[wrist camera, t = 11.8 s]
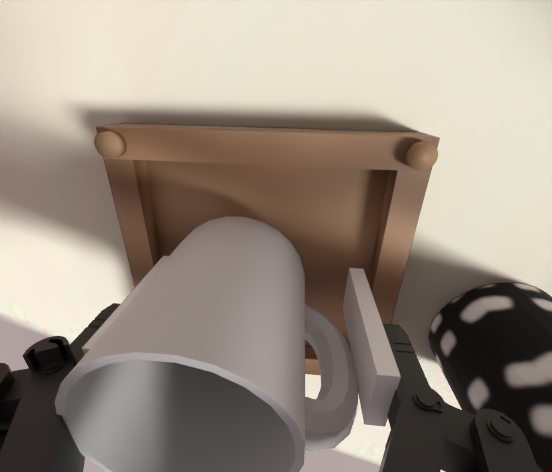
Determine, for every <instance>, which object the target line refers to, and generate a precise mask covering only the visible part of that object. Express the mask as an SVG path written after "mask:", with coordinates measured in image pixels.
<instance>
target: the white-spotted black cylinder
mask: <svg viewBox="0 0 552 472" xmlns="http://www.w3.org/2000/svg"><path fill="white" fill-rule="evenodd" d="M429 344H430V347H431V349H432V352H433V354H434V356H435V358H436V360H437V362H438V364H439V365H440V367H441V369H442V371H443V373H444V375H445V377H446V379H447V381H448V383H449V385H450V387H451V389H452V391H453V393H454V395H455V397H456V399H457V401H458V403H459V405H460V407H461V409H462V410H463V411H465V412H468V413H471V414H473V415H476V413H477V412H478V411H479V410H482V409H492V410H495V411H498V412H500V413H502V414H504V415H505V416H507V417H508V418H510V419H511V420H513V421H514V423H515V424H516V425H517V426H518V427H519V428H520V429H521V430H522V432H523V434H524V435H525V437H526V439H527V442H528V444H529V447H530V449H531V451H532V454H533V456H534V459H535V461H536V464H537V466H538V469H539V471H540V472H552V297H551V296H550V295H548V294H547V293H546V292H544V291H542V290H540V289H538V288H536V287H533V286H529V285H526V284H518V283H498V284H492V285H487V286H483V287H480V288H477V289H474V290H471V291H469V292H467V293H465V294H463V295H461V296H459V297H457V298H456V299H454V300H453V301H451V302H450V303H448V304H447V305H446V306H445V307H444V308H443V309H442V310H441V311H440V312H439V313H438V315H437V316H436V318H435V319H434V320H433V323H432V325H431V327H430V331H429Z"/></svg>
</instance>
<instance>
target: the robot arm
mask: <svg viewBox="0 0 552 472" xmlns="http://www.w3.org/2000/svg"><path fill="white" fill-rule="evenodd" d="M168 257H169V256H163V257H162V258H161V259H160V260H159V261H158V262H157V264H156V265H155V266H154V267H153V268H152V269H151V270H150V272H149V273H148V274H147V275H146V276H145V277H144V278H143V279H142V281H141V282H140V283H139V284H138V285H137V286H136V287H135V288H134V290H133V291H132V292H131V293H130V294H129V295H128V296H127V298H126V299H125V300H124V301H123V302H122V303H121V304H115V303H113V304H112V305H110V306H109V307H107V308H105V309H104V310H102V311H101V313H100V314H99V315H98V316H97V317H96V318H95V320H93V321H92V322H91V323H90V324H89V325H88V327H86V328H85V329H84V331H83V332H82V333H81V334H80V335H79V336H78V337H77V338H76V339H75V340H74V341H73V342H72V343H71V344H70V345H69V343H68V340H67V339H66V338H65V337H62V336H53V337H49V338H46V339H43V340H41V341H39V342H37V343H35V344H34V345H32V346H31V347H30V348H29V349H27V350H26V352H25V353H24V355H23V358H24V359H25V361H26V363H27V365H28V367H29V369H23V370H18V371H11V369H10V368H9V366H8V365H7V364H5V363H0V472H83V468H84V460H85V457H84V456H83V455H82V454H81V453H80V451H79V449H78V447H77V445H76V443H75V441H74V439H73V437H72V435H71V433H70V431H69V430H68V428H67V426H66V424H65V422H64V420H63V418H62V416H61V415H57V413H56V407H55V399H56V396H57V393H58V390H59V387H60V384H61V382H62V381H63V380H64V379H65V378H66V377H67V375H68V374H69V373H70V372H71V371H72V370H73V368H74V367H75V366H76V365H77V364H78V362H79V361H80V360H81V359H82V358H83V357H84V355H85V354H86V353H87V352H88V351H89V350H90V348H91V347H92V346H93V345H94V344H95V343H96V341H97V340H98V339H99V338H100V337H101V336H102V334H103V333H104V332H105V331H106V330H107V329H108V327H109V326H110V325H111V324H112V323H113V321H114V320H115V319H116V318H117V317H118V316H119V314H120V313H121V312H122V311H123V310H124V309H125V307H126V306H127V305H128V304H129V303H130V302H131V300H132V299H133V298H134V297H135V296H136V295H137V293H138V292H139V291H140V290H141V289H142V288H143V286H144V285H145V284H146V283H147V282H148V280H149V279H150V278H151V277H152V276H153V275H154V273H155V272H156V271H157V270H158V269H159V268H160V266H161V265H162V264H163V263H164V262H165V261H166V259H167V258H168ZM343 311H344V317H345V322H346V328H347V333H348V339H349V344H350V349H351V354H352V356H353V359H354V364H355V370H356V375H357V380H358V393H359V398H360V404H361V409H362V415H363V420H364V424H367V425H377V426H385V425H386V422H387V419H389V423H390V427H391V431H390V434H389V437H388V440H387V443H386V446H385V447H386V448H385V452H384V455H383V459H382V463H381V466H380V470H379V472H440V469H441V470H443V471H445V472H540V471H539V469H538V466H537V464H536V461H535V459H534V456H533V454H532V451H531V449H530V447H529V444H528V442H527V439H526V437H525V435H524V434H523V432H522V430H521V429H520V428H519V427H518V426H517V425H516V424H515V423H514V421H513V420H511V419H510V418H508V417H507V416H505V415H504V414H502V413H500V412H498V411H495V410H492V409H482V410H479V411H478V412H477V413H476V415H473V414H471V413H468V412H465V411H463V410H460V409H458V408H455V407H453V406H451V405H449V404H447V403H445V402H444V400H443V399H442V397H441V396H440V395H439V394H438V393H437V392H436V391H434V390H433V389H431V388H430V386H429V384H428V382H427V379H426V377H425V375H424V372H423V370H422V368H421V365H420V363H419V361H418V359H417V356H416V354H415V352H414V349H413V347H412V346H411V342H410V340H409V338H408V336H407V334H406V333H405V331H404V330H403V329H402V328H401V327H400V326H399V325H394V324H382V321H381V318H380V315H379V312H378V309H377V307H376V304H375V301H374V298H373V295H372V292H371V289H370V286H369V283H368V281H367V278H366V275H365V272H364V269H359V268H349V272H348V278H347V284H346V290H345V297H344V303H343Z"/></svg>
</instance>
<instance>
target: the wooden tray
mask: <svg viewBox="0 0 552 472" xmlns="http://www.w3.org/2000/svg"><path fill="white" fill-rule="evenodd" d="M96 129H97V133H98V134H97V135H96V137H95V140H94V144H95V147H96V149H97V151H98V152H99V153H100V154H101V155H102V156H103V158H104V162H105V166H106V170H107V174H108V178H109V182H110V186H111V191H112V195H113V199H114V203H115V207H116V211H117V215H118V219H119V223H120V227H121V232H122V236H123V240H124V244H125V248H126V252H127V256H128V260H129V264H130V268H131V273H132V277H133V281H134V285H135V287H136V286H137V285H138V284H139V283H140V282H141V281H142V279H143V278H144V277H145V276H146V275H147V274H148V273H149V272H150V270H151V269H152V268H153V267H154V266H155V265H156V264H157V262H158V261H159V260H160V259H161V258H162V257H163V256H170V255H171V254H172V252H173V251H174V250H175V249H176V248H177V247H178V245H179V244H180V243H181V242H182V241H183V240H184V239H185V238H186V237H187V236H188V235H189V234H190V233H191V232H192V231H193V230H194V229H195V228H197V227H198V226H200V225H202V224H204V223H206V222H208V221H209V220H213V219H217V218H222V217H226V216H231V217H247V218H250V219H254V220H258V221H261V222H264V223H266V224H267V225H269V226H271V227H273V228H274V229H276V230H278V231H279V232H280V233H282V234H283V235H284V236H285V237H286V238H287V239H288V240H289V241H290V242H291V243H292V245H293V246H294V248H295V249H296V251H297V253H298V254H299V256H300V259H301V262H302V266H303V270H304V276H305V304H307V305H309V306H312V307H314V308H315V309H317V310H318V311H320V312H322V313H323V314H325V315H326V316H327V317H328V318H329V319H330V320H331V321H332V322H333V323H334V324H335V325H336V326H337V327H338V328H339V330H340V332H341V333H342V335H343V336H344V338H345V340H346V341H347V343H348V345H349V348H350V344H349V339H348V333H347V328H346V322H345V317H344V311H343V303H344V297H345V290H346V284H347V278H348V272H349V268H359V269H364V272H365V275H366V278H367V281H368V283H369V286H370V289H371V292H372V295H373V298H374V301H375V304H376V307H377V309H378V312H379V315H380V318H381V321H382V324H391V321H392V317H393V313H394V309H395V305H396V302H397V298H398V294H399V290H400V287H401V283H402V279H403V275H404V271H405V268H406V264H407V260H408V256H409V252H410V249H411V245H412V241H413V237H414V234H415V230H416V226H417V222H418V218H419V215H420V211H421V207H422V203H423V200H424V196H425V192H426V188H427V184H428V181H429V177H430V173H431V169H432V166H433V165H434V163H435V162H436V160H437V157H438V151H437V147H438V143H439V139H440V138H438V137H435V136H431V135H428V134H425V133H421V132H401V131H369V130H336V129H304V128H272V127H240V126H208V125H176V124H144V123H120V124H113V125H106V126H99V127H96ZM350 351H351V349H350ZM305 374H313V375H321V372H320V367H319V363H318V359H317V356H316V354H315V351H314V349H313V347H312V346H311V345H310V343H309V342H308V341H307V340H305Z"/></svg>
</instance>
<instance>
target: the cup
mask: <svg viewBox="0 0 552 472" xmlns="http://www.w3.org/2000/svg"><path fill="white" fill-rule="evenodd" d="M305 340H307V341H308V342H309V343H310V345H311V346H312V347H313V349H314V351H315V354H316V356H317V359H318V363H319V367H320V372H321V389H320V392H319V395H318V398H317V399H316V400H314V399H311V398H308V397H305ZM357 404H358V380H357V375H356V370H355V364H354V359H353V356H352V354H351V351H350V348H349V345H348V343H347V341H346V340H345V338H344V336H343V335H342V333H341V332H340V330H339V328H338V327H337V326H336V325H335V324H334V323H333V322H332V321H331V320H330V319H329V318H328V317H327V316H326V315H325V314H323V313H322V312H320V311H318V310H317V309H315V308H314V307H312V306H309V305H307V304H305V276H304V270H303V266H302V262H301V259H300V256H299V254H298V253H297V251H296V249H295V248H294V246H293V245H292V243H291V242H290V241H289V240H288V239H287V238H286V237H285V236H284V235H283V234H282V233H280V232H279V231H278V230H276V229H274V228H273V227H271V226H269V225H267V224H266V223H264V222H261V221H258V220H254V219H250V218H247V217H231V216H226V217H222V218H217V219H213V220H209V221H208V222H206V223H204V224H202V225H200V226H198V227H197V228H195V229H194V230H193V231H192V232H191V233H190V234H189V235H188V236H187V237H186V238H185V239H184V240H183V241H182V242H181V243H180V244H179V245H178V247H177V248H176V249H175V250H174V251H173V252H172V254H171V255H170V256H169V257H168V258H167V259H166V261H165V262H164V263H163V264H162V265H161V266H160V268H159V269H158V270H157V271H156V272H155V273H154V275H153V276H152V277H151V278H150V279H149V280H148V282H147V283H146V284H145V285H144V286H143V288H142V289H141V290H140V291H139V292H138V293H137V295H136V296H135V297H134V298H133V299H132V300H131V302H130V303H129V304H128V305H127V306H126V307H125V309H124V310H123V311H122V312H121V313H120V314H119V316H118V317H117V318H116V319H115V320H114V321H113V323H112V324H111V325H110V326H109V327H108V329H107V330H106V331H105V332H104V333H103V334H102V336H101V337H100V338H99V339H98V340H97V341H96V343H95V344H94V345H93V346H92V347H91V348H90V350H89V351H88V352H87V353H86V354H85V355H84V357H83V358H82V359H81V360H80V361H79V362H78V364H77V365H76V366H75V367H74V368H73V370H72V371H71V372H70V373H69V374H68V375H67V377H66V378H65V379H64V380H63V381H62V382H61V384H60V387H59V390H58V393H57V396H56V399H55V407H56V413H57V415H61V416H62V418H63V420H64V422H65V424H66V426H67V428H68V430H69V431H70V433H71V435H72V437H73V439H74V441H75V443H76V445H77V447H78V449H79V451H80V453H81V454H82V455H83V456H84V457H85V458H87V459H88V460H90V461H91V462H92V463H94V464H95V465H96V466H98V467H99V468H101V469H102V470H103V471H105V472H299V471H300V469H301V468H302V466H303V464H304V452H305V450H321V449H330V448H335V447H336V446H337V445H338V444H339V443H340V442H341V441H342V440H344V439H345V438H346V437H347V436H348V435H349V434H350V431H351V428H352V425H353V422H354V419H355V416H356V411H357Z"/></svg>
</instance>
